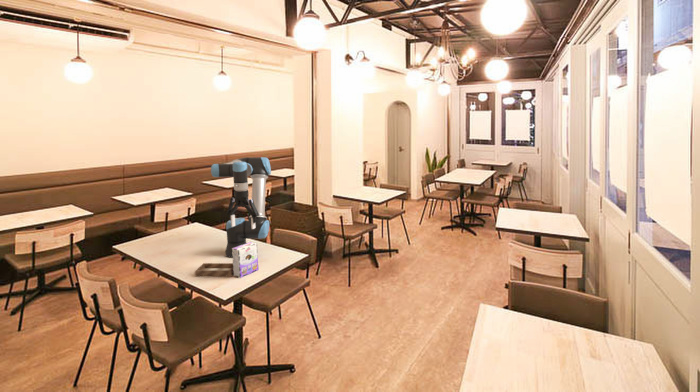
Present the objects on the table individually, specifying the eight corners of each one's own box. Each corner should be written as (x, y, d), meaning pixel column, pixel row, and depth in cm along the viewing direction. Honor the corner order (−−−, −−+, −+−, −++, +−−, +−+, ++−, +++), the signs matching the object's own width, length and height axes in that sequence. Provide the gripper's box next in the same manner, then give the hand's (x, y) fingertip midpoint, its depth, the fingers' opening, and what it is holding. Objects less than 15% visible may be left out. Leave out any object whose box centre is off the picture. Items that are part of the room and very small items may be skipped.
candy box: (251, 268, 233) (250, 241, 230) (258, 270, 230) (257, 243, 227) (233, 275, 222) (231, 247, 219) (240, 278, 219) (238, 249, 216)
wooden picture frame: (195, 276, 221) (195, 270, 221) (204, 268, 233) (203, 263, 232) (231, 276, 221) (230, 271, 220) (237, 268, 233) (237, 263, 232)
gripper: (218, 189, 218) (220, 227, 222) (256, 192, 209) (258, 231, 213) (227, 187, 225) (229, 223, 229) (264, 190, 216) (266, 227, 220)
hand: (243, 227), depth 221 cm, fingers open, 13 cm apart
